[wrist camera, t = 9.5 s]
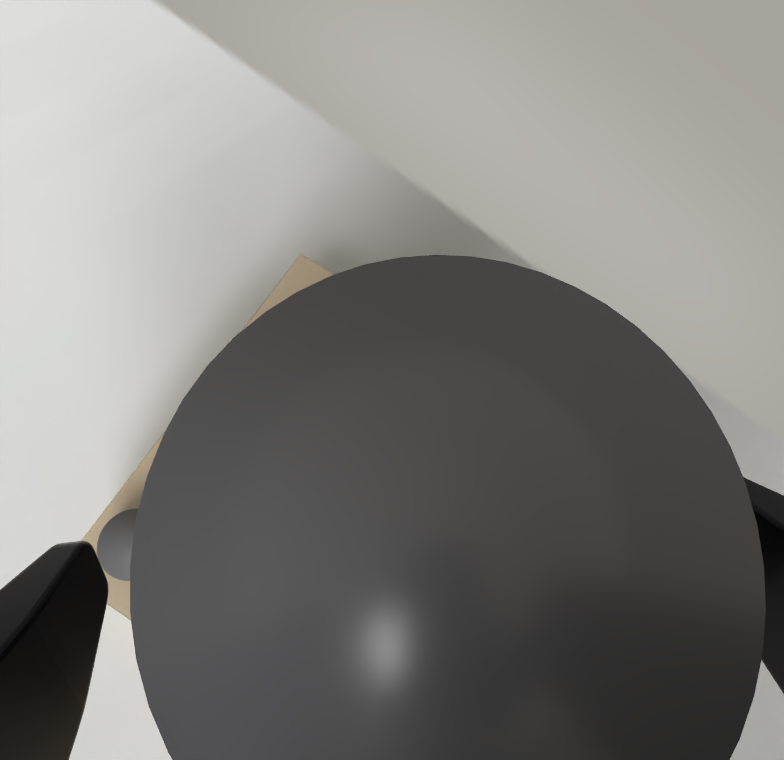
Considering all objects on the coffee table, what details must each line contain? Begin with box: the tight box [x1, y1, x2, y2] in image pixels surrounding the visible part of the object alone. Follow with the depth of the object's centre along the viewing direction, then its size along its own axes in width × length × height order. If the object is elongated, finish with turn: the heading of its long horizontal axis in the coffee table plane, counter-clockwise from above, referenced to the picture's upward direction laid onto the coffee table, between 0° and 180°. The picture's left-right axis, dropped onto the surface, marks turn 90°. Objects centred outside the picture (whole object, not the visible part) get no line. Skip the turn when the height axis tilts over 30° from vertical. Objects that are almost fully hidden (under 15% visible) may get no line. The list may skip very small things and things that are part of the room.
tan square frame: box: [81, 254, 335, 620], centre depth 14 cm, size 12×10×3 cm
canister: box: [130, 255, 766, 760], centre depth 10 cm, size 5×5×12 cm
